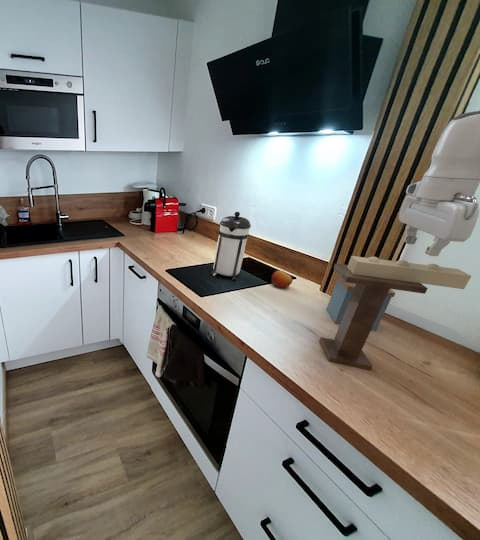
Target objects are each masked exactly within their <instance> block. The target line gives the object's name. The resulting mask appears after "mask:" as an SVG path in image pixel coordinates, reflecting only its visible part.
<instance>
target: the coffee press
mask: <svg viewBox="0 0 480 540" xmlns="http://www.w3.org/2000/svg"><path fill="white" fill-rule="evenodd" d="M240 215H241V212H239V211H235V212H234V215H229V216H228V215H227V216H225V217H223V218H222V220H220V222H219V225H220V227H219V229H218V238H217V243H216V248H215V249H216V250H215V254H214V261H213V267H212V269H213V270H212V271H211V273H210V275H211V276H212V277H215V276H216V275H217V274H219V275H221V276H225V277H230V279H231V281H233V282H234V281H235V282H236V281H237V276H238V275H239V274H241V269H242V264H243V260H244V256H245V250H246V246H247V241H248V238H249V235H250V233H249V232H250V229H251V227H252V224H251V222H250V220H249V219H248V218H246V217H243V216H240Z"/></svg>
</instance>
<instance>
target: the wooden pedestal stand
mask: <svg viewBox="0 0 480 540" xmlns="http://www.w3.org/2000/svg"><path fill="white" fill-rule="evenodd" d="M347 267H348V264H343V263H334V265H333V270H334V271H335V272H336V273H337V275H338V274H339V275H340V276H341V277H342V279H343V280H344V281H345V282H348V283H355V284H356V286H355V288H354V291H353V293H352V296H351V298H350V301H349V303H348V306H347V308H346V311H345V313H344V316H343V318H342V321H341V323H340V324H339V326H338V328H337V331H336V333H335V336H334V339H332V338H327V337H322V336H320V337H319V340H318V342H319V344H320V346H321V348H322V350H323V353H324V355H325V357H326V359H327V361H328V362H331V363H335V364H339V365H344V366H348V367H353V368H357V369H362V370H367V371H371V370H372V368H373V365H372V363H371V362H370V360H369V358H368V357H367V356H366V354H365V352H364V351H363V349H364V347H365V344H366V342H367V341H368V340H367V339H368V337H369V335H370V334H371V331H372V330H371V329H372V327H373V324H374V322H375V320H376V318H377V316H378V313H379V311H380V309H381V307H382V305H383V303H384V300H385V298H386V296H387V294H388V292H389V289H391V290H397V291H404V292H409V293H417V294H422V295H425V294H426V293H427V291H428V289H429V288H428V287H426V286H425V284H422V283H415V282H407V281H400V280H393V279H386V278H378V277H371V276H364V275H357V274H353V273H352V272H351V271H350V270H349V269H348V268H347Z"/></svg>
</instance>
